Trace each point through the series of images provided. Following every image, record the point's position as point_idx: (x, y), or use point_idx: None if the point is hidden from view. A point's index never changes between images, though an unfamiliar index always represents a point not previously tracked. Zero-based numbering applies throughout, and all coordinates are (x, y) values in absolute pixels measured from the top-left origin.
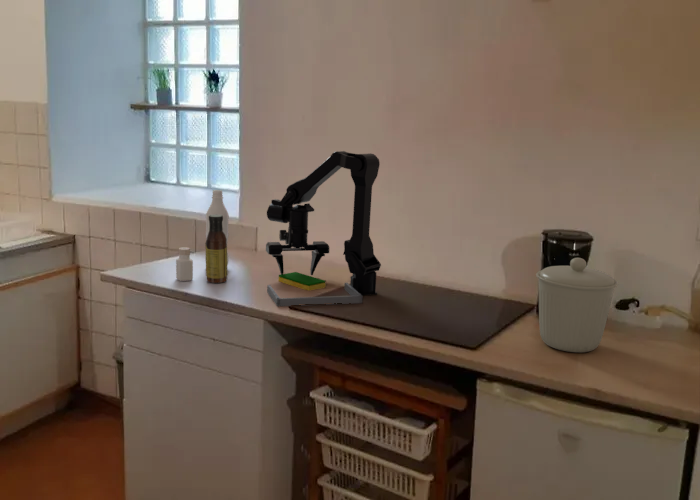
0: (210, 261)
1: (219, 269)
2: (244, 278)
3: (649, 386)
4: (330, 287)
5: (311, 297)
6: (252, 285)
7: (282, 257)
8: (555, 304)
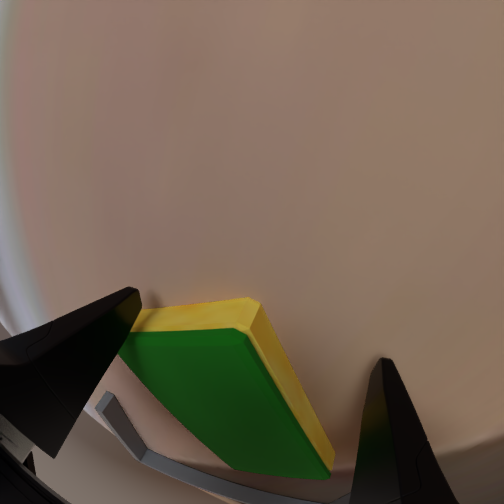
0: None
1: None
2: (3, 203)
3: None
4: (350, 459)
5: (207, 490)
6: (49, 315)
7: (58, 445)
8: None
